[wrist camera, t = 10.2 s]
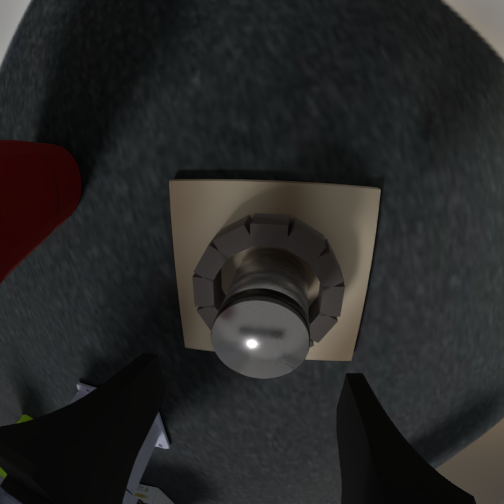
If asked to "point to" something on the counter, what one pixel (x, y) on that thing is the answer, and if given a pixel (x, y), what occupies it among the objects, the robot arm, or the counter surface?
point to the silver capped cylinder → (264, 316)
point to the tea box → (151, 495)
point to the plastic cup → (33, 197)
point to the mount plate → (275, 237)
